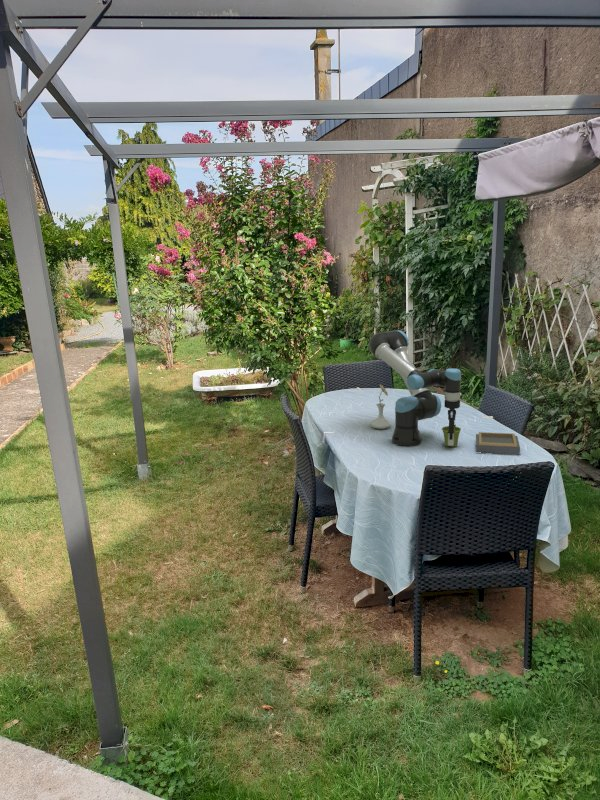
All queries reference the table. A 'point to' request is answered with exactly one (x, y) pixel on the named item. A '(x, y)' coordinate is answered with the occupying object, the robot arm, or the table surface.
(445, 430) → the plant pot
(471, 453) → the table surface
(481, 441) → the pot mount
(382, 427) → the flower in vase
